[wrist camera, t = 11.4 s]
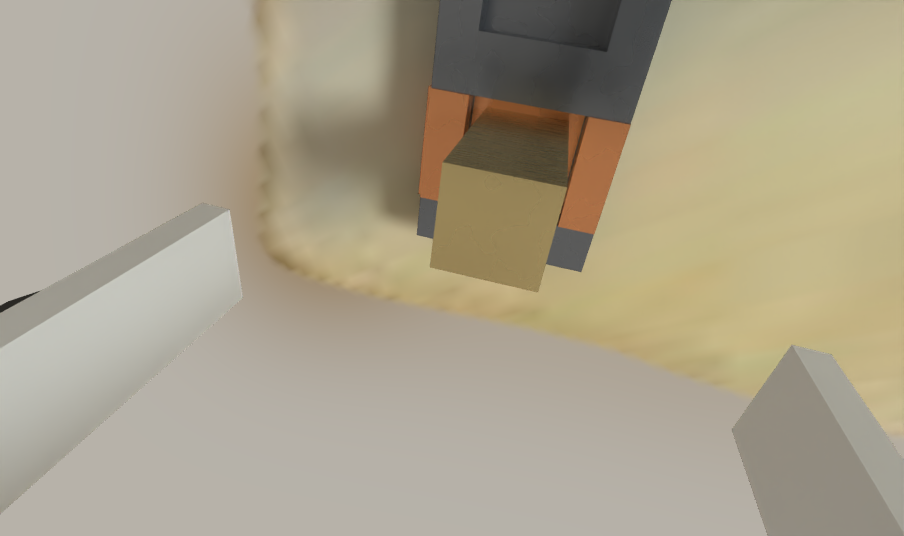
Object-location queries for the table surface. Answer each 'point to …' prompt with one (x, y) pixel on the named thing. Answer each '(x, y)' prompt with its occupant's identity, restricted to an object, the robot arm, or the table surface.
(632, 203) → the table surface
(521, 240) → the tan rectangular block
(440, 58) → the rail
